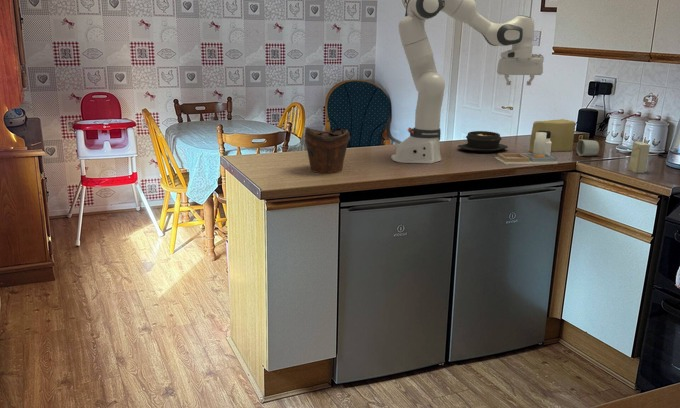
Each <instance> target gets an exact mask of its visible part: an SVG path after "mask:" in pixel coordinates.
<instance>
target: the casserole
mask: <svg viewBox="0 0 680 408" xmlns="http://www.w3.org/2000/svg"><path fill="white" fill-rule="evenodd" d="M465 138H466V139H467V141H466V142H467V143H463V144H458V145H457V147H458V148H460V149H463V150H466V151H473V152H477V153H494V152H496V151H500V150H505V149H508V148H509V146H507V145H505V144H503V143H500V142H501V141H502V137H501V134H500V133H498V132H493V131H489V130H488V131H487V130H476V131H475V130H474V131H473V130H472V131H469V132H468V133H467V135H466V136H465Z"/></svg>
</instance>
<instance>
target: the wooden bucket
mask: <svg viewBox="0 0 680 408" xmlns="http://www.w3.org/2000/svg"><path fill="white" fill-rule="evenodd" d="M350 136H351V135H350V132H349V131H348V129H343V128H341V127H337V128H335V129H333V130H331V131H326V130H319V129H313V128H310V127H305V130H304V143H305V145H306V151H307V156H308V160H309V161H308V162H309V166H310V167H309V168H310V170H311V171H312V172H314V173H319V174H334V173H338V172H341V171H342V170H343V166H344V162H345V156H346V153H347V147H348V144H349V141H350V140H351V137H350Z"/></svg>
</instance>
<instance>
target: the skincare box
mask: <svg viewBox="0 0 680 408" xmlns="http://www.w3.org/2000/svg"><path fill="white" fill-rule="evenodd" d="M650 148H651V144H649V143H646V142H643V141H633V143H632V147H631V155H630V160H629V165H628V170H629V171H631V172H633V173H636V174H646V170H647V164H648V159H649V155H650Z"/></svg>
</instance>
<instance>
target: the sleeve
mask: <svg viewBox="0 0 680 408" xmlns="http://www.w3.org/2000/svg"><path fill="white" fill-rule="evenodd" d="M546 135H547V133H545V132H536V137H535V148H534V157H533V158H545V146H546Z"/></svg>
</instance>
